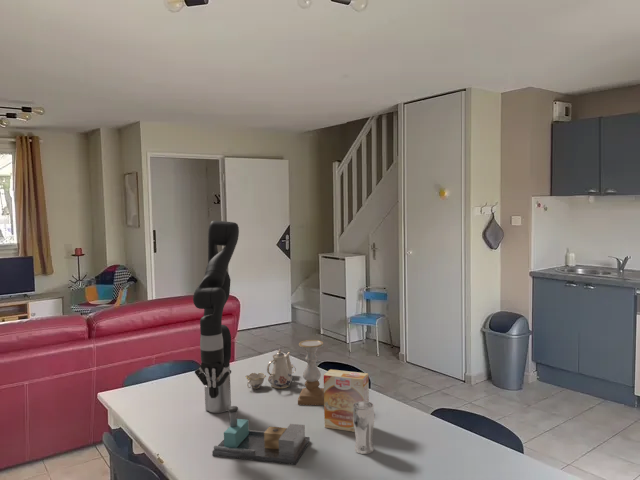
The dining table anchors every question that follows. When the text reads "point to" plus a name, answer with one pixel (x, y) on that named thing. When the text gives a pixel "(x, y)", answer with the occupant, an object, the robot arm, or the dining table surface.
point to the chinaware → (274, 373)
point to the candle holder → (311, 375)
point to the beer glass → (363, 426)
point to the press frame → (254, 448)
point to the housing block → (273, 437)
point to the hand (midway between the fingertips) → (214, 397)
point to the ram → (235, 429)
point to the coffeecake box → (343, 397)
